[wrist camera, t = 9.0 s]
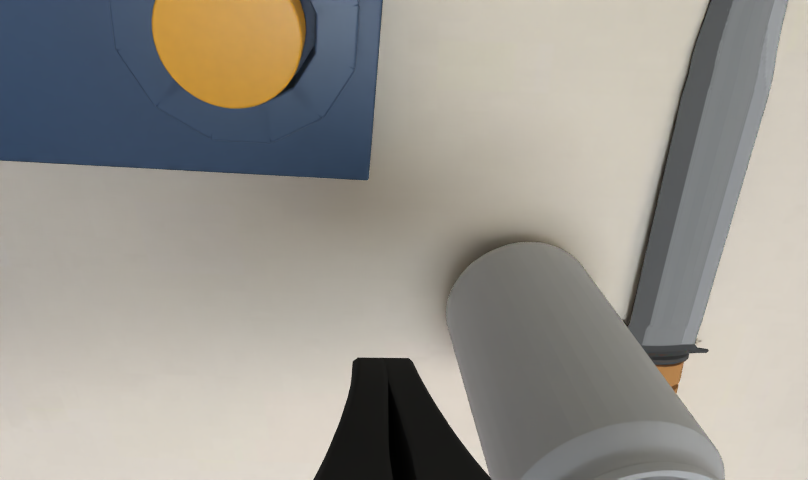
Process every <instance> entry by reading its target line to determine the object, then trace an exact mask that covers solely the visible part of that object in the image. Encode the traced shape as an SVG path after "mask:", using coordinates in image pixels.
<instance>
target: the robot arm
mask: <svg viewBox="0 0 808 480" xmlns="http://www.w3.org/2000/svg"><path fill="white" fill-rule="evenodd" d="M314 480H492V479H491V478H490V477H489V476H488V475H487V473H486V472H485V471H484V470H483V469H482V468H481V466H480V465H479V464H478V463H477V462H476V460H475V459H474V458H473V457H472V455H471V454H470V453H469V452H468V450H467V449H466V448H465V446H464V445H463V444H462V442H461V441H460V440H459V438H458V437H457V436H456V434H455V433H454V431H453V430H452V428H451V427H450V426H449V424H448V422H447V421H446V419H445V418H444V416H443V415H442V413H441V412H440V410H439V409H438V407H437V406H436V404H435V402H434V401H433V399H432V397H431V396H430V394H429V392H428V390H427V389H426V387H425V385H424V383H423V382H422V380H421V378H420V376H419V374H418V372H417V370H416V368H415V366H414V364H413V362H412V361H411V360H410V359H409V358H357V359H355V360H354V361H353V365H352V378H351V386H350V390H349V394H348V398H347V401H346V404H345V407H344V411H343V414H342V417H341V420H340V422H339V425H338V428H337V430H336V432H335V435H334V437H333V440H332V442H331V444H330V447H329V449H328V451H327V454H326V456H325V458H324V460H323V462H322V464H321V466H320V468H319V470H318V472H317V474H316V476H315V478H314Z"/></svg>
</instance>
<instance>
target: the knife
mask: <svg viewBox="0 0 808 480" xmlns="http://www.w3.org/2000/svg"><path fill="white" fill-rule="evenodd" d="M787 4H788V0H711V2H710V5H709V8H708V10H707V13H706V16H705V19H704V21H703V24H702V27H701V30H700V33H699V36H698V39H697V42H696V45H695V48H694V51H693V55H692V60H691V64H690V69H689V73H688V77H687V80H686V84H685V87H684V90H683V93H682V97H681V101H680V105H679V110H678V114H677V118H676V123H675V127H674V132H673V136H672V140H671V145H670V149H669V153H668V158H667V162H666V167H665V171H664V175H663V180H662V184H661V188H660V193H659V197H658V201H657V206H656V210H655V215H654V219H653V223H652V228H651V232H650V236H649V241H648V245H647V249H646V254H645V258H644V263H643V267H642V271H641V276H640V280H639V284H638V289H637V293H636V298H635V302H634V306H633V311H632V315H631V319H630V324H629V325H628V326H627V328H628V329H629V330H630V332H631V333H632V334H633V336H634V337H635V338H636V340H637V341H638V343H639V344H640V345H641V347H642V348H643V349H644V351H645V352H646V353H647V355H648V356H649V357H650V359H651V360H652V362H653V363H654V364H655V366H656V367H657V368H658V370H659V371H660V372H661V374H662V375H663V377H664V378H665V379H666V381H667V382H668V383H669V385H670V386H671V387H672V389H673V390H674V391H675V393H677V389H678V383H679V381H680V378H681V373H682V368H683V363H684V361H686V360H687V359H688V356H689V353H707V352H708V351H709V350H708V349H704V348H697V347H696V345H695V341H696V338H697V334H698V331H699V328H700V325H701V322H702V319H703V316H704V312H705V309H706V306H707V302H708V299H709V295H710V292H711V289H712V285H713V282H714V278H715V275H716V272H717V268H718V265H719V262H720V258H721V255H722V251H723V248H724V245H725V241H726V238H727V234H728V231H729V228H730V224H731V221H732V218H733V214H734V211H735V207H736V204H737V201H738V197H739V194H740V190H741V187H742V184H743V180H744V177H745V174H746V170H747V167H748V163H749V160H750V157H751V153H752V150H753V147H754V143H755V140H756V136H757V133H758V130H759V126H760V123H761V119H762V116H763V113H764V109H765V106H766V103H767V99H768V95H769V91H770V87H771V82H772V78H773V73H774V67H775V60H776V54H777V48H778V43H779V39H780V34H781V29H782V24H783V20H784V16H785V12H786V8H787Z"/></svg>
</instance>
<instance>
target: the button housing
mask: <svg viewBox="0 0 808 480" xmlns="http://www.w3.org/2000/svg"><path fill="white" fill-rule="evenodd" d="M300 2H301V5H302V8H303V11H304V16H305V22H306V35H305V42H304V47H303V51H302V55H301V59H300V62H299V65H298V68H297V70H296V72H295V74H294V76H293V78H292V80H291V81H290V82H289V84H288V85H287V86H286V87H285V88H284V89H283V90H282V91H281V92H280V93H279V94H278V95H277V96H275V97H274V98H272V99H270V100H269V101H267V102H265V103H262V104H260V105H257V106H253V107H249V108H241V109H231V108H224V107H219V106H215V105H212V104H209V103H206V102H204V101H202V100H200V99H198V98H196V97H194V96H193V95H191V94H190V93H189V92H187V91H186V90H185V89H183V88H182V87H181V86H180V85H179V84H178V83H177V82H176V81H175V80H174V79H173V78H172V77H171V75H170V74H169V72H168V71H167V70H166V68H165V67H164V65H163V63H162V61H161V60H160V57H159V55H158V53H157V50H156V47H155V43H154V40H153V34H152V12H153V7H154V3H155V0H0V160H2V161H20V162H39V163H57V164H76V165H94V166H112V167H131V168H149V169H167V170H186V171H204V172H223V173H241V174H259V175H278V176H296V177H314V178H333V179H351V180H368V179H369V170H370V157H371V144H372V131H373V118H374V106H375V93H376V80H377V67H378V54H379V42H380V29H381V16H382V3H383V0H300Z"/></svg>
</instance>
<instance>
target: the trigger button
mask: <svg viewBox="0 0 808 480" xmlns="http://www.w3.org/2000/svg"><path fill="white" fill-rule="evenodd" d="M152 34H153V40H154V43H155V47H156V50H157V53H158V55H159V57H160V60H161V61H162V63H163V65H164V67H165V68H166V70H167V71H168V72H169V74H170V75H171V77H172V78H173V79H174V80H175V81H176V82H177V83H178V84H179V85H180V86H181V87H182V88H183V89H185V90H186V91H187V92H189V93H190V94H191V95H193V96H194V97H196V98H198V99H200V100H202V101H204V102H206V103H209V104H212V105H215V106H219V107H224V108H231V109H241V108H249V107H253V106H257V105H260V104H262V103H265V102H267V101H269V100H270V99H272V98H274V97H275V96H277V95H278V94H279V93H280V92H281V91H282V90H283V89H284V88H285V87H286V86H287V85H288V84H289V82H290V81H291V80H292V78H293V76H294V74H295V72H296V70H297V68H298V65H299V62H300V59H301V55H302V51H303V47H304V42H305V35H306V22H305V16H304V11H303V8H302V5H301V2H300V0H155V3H154V7H153V12H152Z"/></svg>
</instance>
